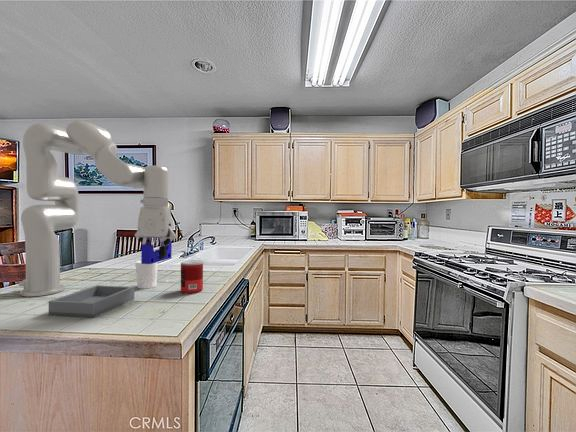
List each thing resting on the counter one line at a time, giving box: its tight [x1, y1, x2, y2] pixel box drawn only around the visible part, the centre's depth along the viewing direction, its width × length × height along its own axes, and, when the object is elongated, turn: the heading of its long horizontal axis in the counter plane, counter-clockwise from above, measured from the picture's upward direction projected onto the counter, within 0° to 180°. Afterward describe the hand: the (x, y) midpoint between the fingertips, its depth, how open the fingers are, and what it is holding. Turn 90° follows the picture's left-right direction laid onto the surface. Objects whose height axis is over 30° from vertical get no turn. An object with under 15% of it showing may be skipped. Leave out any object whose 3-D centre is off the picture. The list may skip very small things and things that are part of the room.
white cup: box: [135, 260, 159, 290], centre depth 116 cm, size 8×8×10 cm
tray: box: [48, 284, 135, 319], centre depth 93 cm, size 14×18×4 cm
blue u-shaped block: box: [141, 240, 173, 264], centre depth 99 cm, size 12×4×6 cm, turn 170°
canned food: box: [180, 259, 204, 295], centre depth 111 cm, size 8×8×11 cm
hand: (155, 256), depth 99 cm, fingers closed on blue u-shaped block, 4 cm apart
